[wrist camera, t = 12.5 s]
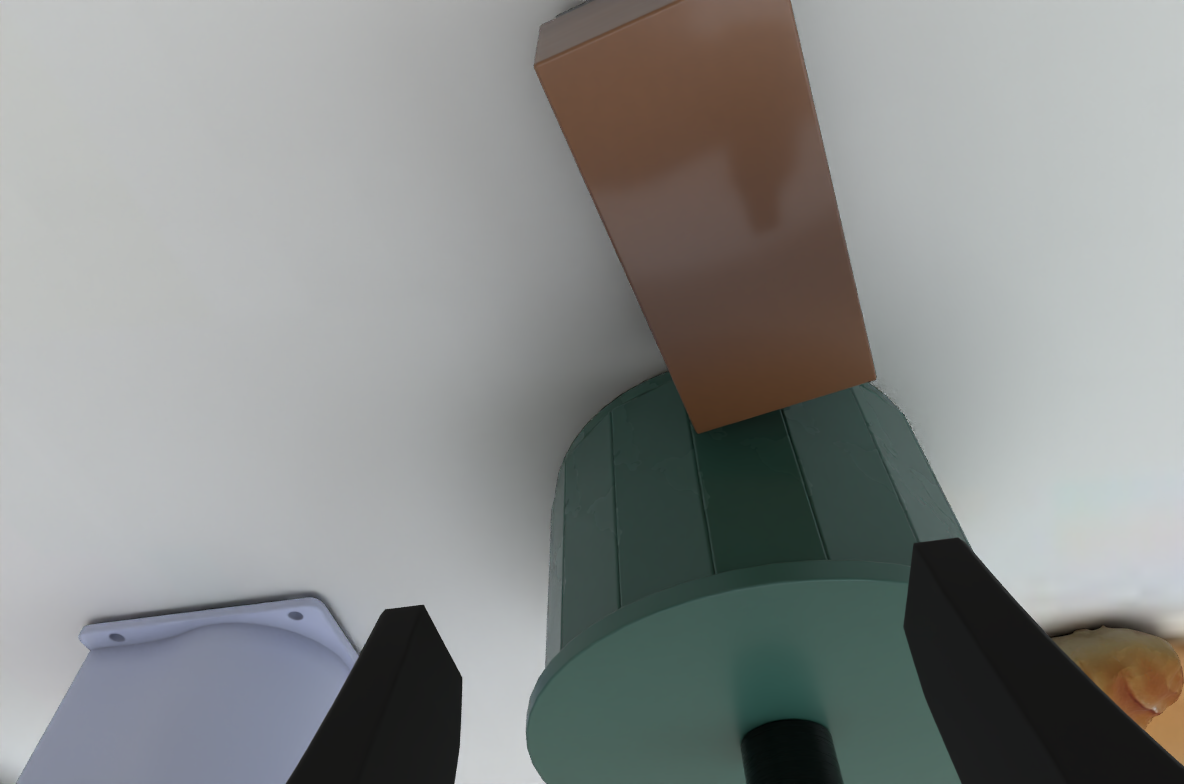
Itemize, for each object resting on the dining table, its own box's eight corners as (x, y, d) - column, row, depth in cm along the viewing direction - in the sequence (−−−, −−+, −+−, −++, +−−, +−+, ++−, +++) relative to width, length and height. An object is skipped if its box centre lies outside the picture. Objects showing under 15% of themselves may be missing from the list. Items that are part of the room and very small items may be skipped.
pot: (590, 622, 29) (592, 836, 23) (517, 387, 22) (493, 611, 16) (904, 585, 28) (990, 801, 22) (936, 324, 21) (1076, 541, 15)
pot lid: (579, 822, 24) (579, 940, 22) (467, 575, 16) (447, 715, 14) (996, 785, 23) (1046, 905, 20) (1093, 497, 15) (1192, 637, 12)
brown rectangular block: (541, 10, 16) (532, 65, 13) (740, -82, 15) (780, -46, 12) (680, 341, 21) (696, 435, 18) (834, 290, 20) (877, 380, 17)
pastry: (1125, 586, 28) (1190, 683, 25) (1186, 658, 31) (1250, 752, 28) (896, 684, 32) (928, 777, 29) (970, 739, 35) (1007, 828, 32)
